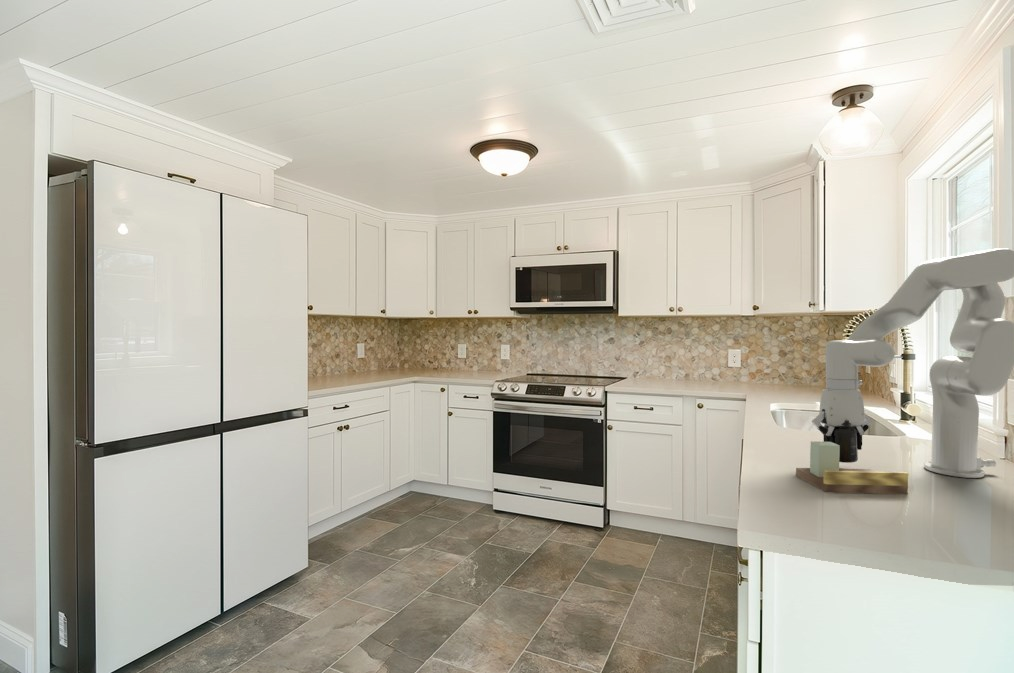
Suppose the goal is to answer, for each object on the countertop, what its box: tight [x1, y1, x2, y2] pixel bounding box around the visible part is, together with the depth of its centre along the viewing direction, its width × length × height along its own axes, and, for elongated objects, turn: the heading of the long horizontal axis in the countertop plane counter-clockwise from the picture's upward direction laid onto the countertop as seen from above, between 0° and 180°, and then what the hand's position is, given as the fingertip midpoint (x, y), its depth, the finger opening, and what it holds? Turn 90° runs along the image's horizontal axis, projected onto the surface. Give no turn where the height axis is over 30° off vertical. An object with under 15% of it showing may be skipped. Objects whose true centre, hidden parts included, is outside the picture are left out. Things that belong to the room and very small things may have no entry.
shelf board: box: [795, 467, 909, 495], centre depth 132 cm, size 19×14×5 cm
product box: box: [809, 441, 840, 477], centre depth 133 cm, size 5×4×8 cm
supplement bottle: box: [831, 419, 859, 464], centre depth 145 cm, size 7×7×12 cm
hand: (842, 448), depth 145 cm, fingers closed on supplement bottle, 6 cm apart
